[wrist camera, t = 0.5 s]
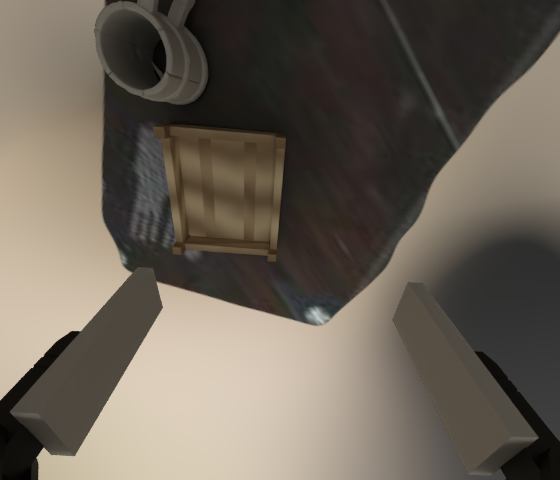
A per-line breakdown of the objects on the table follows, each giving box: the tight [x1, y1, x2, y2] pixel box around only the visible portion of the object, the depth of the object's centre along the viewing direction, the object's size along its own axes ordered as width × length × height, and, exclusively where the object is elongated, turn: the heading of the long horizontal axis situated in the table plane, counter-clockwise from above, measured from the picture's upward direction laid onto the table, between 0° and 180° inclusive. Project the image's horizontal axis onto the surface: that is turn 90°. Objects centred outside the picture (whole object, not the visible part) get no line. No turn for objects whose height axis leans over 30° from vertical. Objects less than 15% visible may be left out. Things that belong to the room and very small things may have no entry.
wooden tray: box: [153, 124, 286, 262], centre depth 34 cm, size 17×15×5 cm
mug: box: [94, 0, 208, 105], centre depth 23 cm, size 8×12×12 cm, turn 153°
